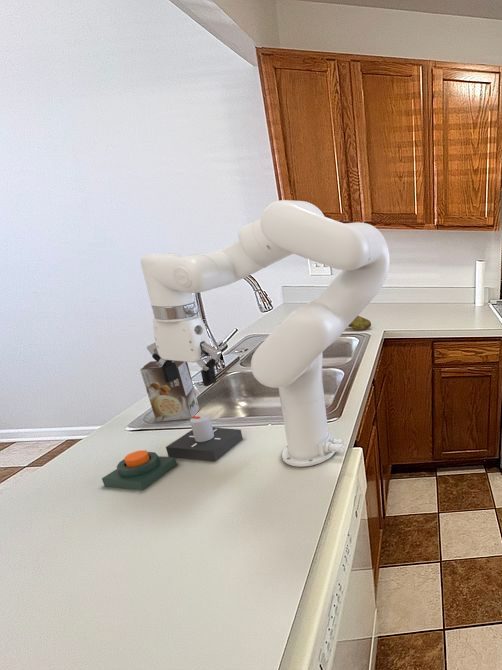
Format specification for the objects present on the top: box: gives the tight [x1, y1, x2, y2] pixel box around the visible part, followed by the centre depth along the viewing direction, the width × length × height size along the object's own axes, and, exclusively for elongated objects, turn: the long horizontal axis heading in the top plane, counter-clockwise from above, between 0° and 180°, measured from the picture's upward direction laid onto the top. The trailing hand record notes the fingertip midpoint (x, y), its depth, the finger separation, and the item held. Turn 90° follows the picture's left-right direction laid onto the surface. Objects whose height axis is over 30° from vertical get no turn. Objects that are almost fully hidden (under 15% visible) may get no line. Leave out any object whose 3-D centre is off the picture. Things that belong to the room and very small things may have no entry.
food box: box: [139, 360, 200, 423], centre depth 111 cm, size 9×6×16 cm
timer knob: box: [189, 414, 214, 442], centre depth 97 cm, size 4×4×6 cm
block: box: [101, 451, 178, 491], centre depth 88 cm, size 9×9×4 cm
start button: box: [123, 449, 150, 467], centre depth 87 cm, size 4×4×2 cm
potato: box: [347, 315, 372, 331], centre depth 198 cm, size 8×13×8 cm, turn 81°
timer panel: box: [165, 426, 243, 463], centre depth 99 cm, size 12×10×3 cm
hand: (191, 382), depth 93 cm, fingers open, 9 cm apart
